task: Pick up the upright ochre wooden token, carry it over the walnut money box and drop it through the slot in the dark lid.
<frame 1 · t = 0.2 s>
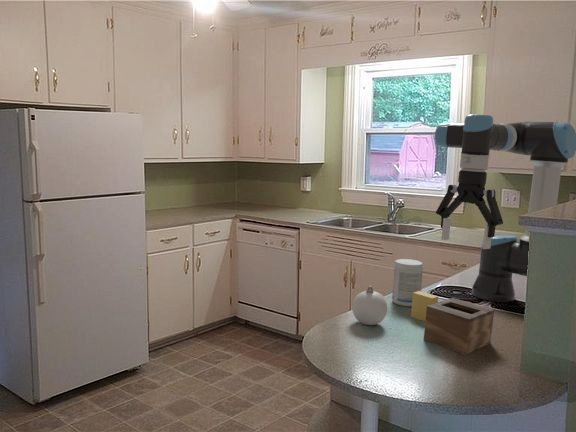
hand: (465, 244, 154), 27 cm above the countertop, fingers open, 13 cm apart
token: (423, 318, 171), on the countertop
coin box: (456, 341, 153), on the countertop
supplement tub: (405, 303, 186), on the countertop
ornament: (368, 324, 163), on the countertop
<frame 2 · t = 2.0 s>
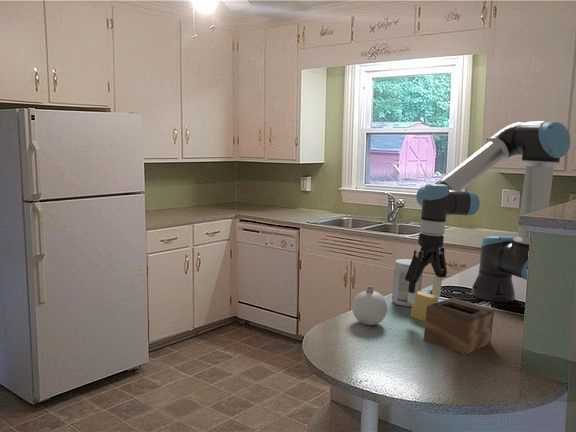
hand: (424, 299, 170), 6 cm above the countertop, fingers open, 13 cm apart
nothing on the countertop moved.
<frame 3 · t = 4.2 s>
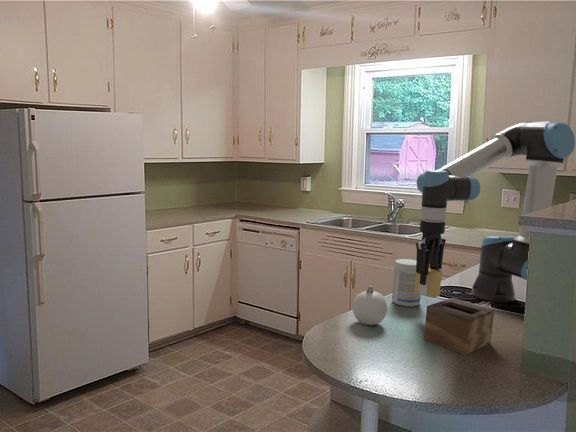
hand: (427, 292, 170), 8 cm above the countertop, fingers closed on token, 3 cm apart
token: (427, 294, 170), point 8 cm above the countertop, touching gripper
everything else where it was.
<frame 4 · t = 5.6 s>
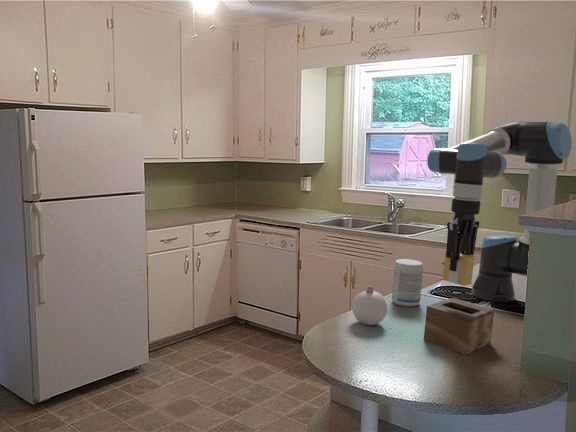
hand: (457, 280, 152), 17 cm above the countertop, fingers closed on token, 3 cm apart
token: (456, 281, 152), point 17 cm above the countertop, touching gripper
everything else where it was.
when the fingers open (11 cm above the countertop, at t = 7.0 s): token drops 10 cm, resting on coin box.
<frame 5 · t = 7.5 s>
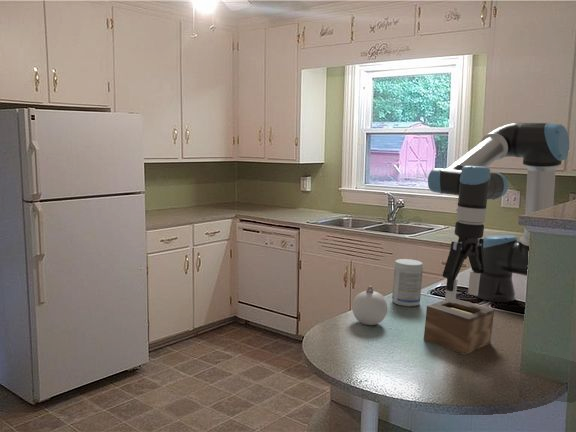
hand: (461, 298, 151), 13 cm above the countertop, fingers open, 12 cm apart
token: (457, 338, 153), point 1 cm above the countertop, touching coin box
everything else where it was.
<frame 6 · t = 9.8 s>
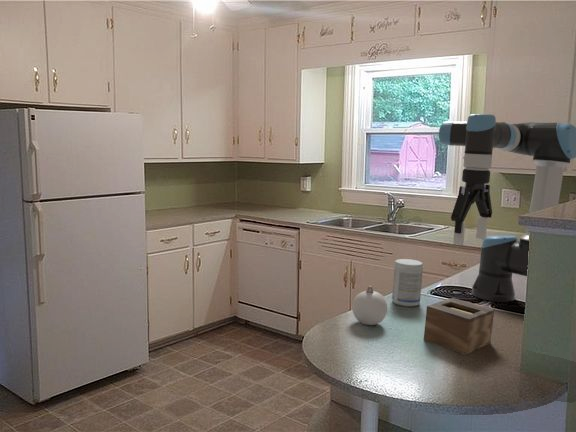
hand: (469, 241, 157), 28 cm above the countertop, fingers open, 13 cm apart
nothing on the countertop moved.
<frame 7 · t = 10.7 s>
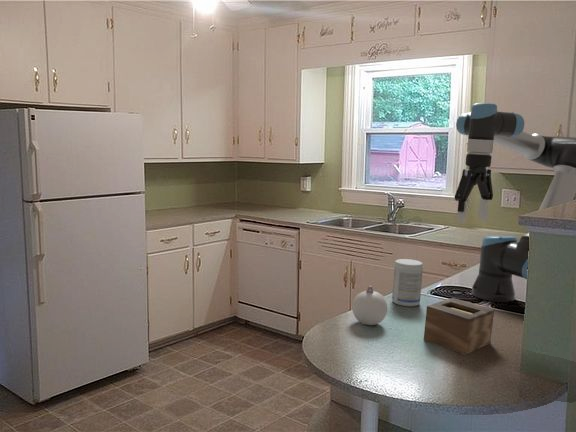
hand: (471, 220, 171), 32 cm above the countertop, fingers open, 13 cm apart
nothing on the countertop moved.
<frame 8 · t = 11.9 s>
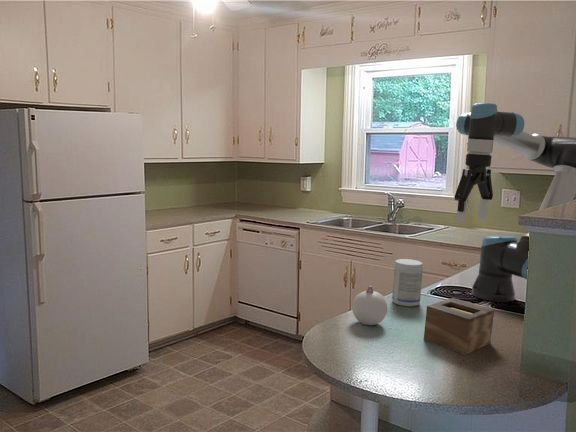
hand: (471, 220, 171), 32 cm above the countertop, fingers open, 13 cm apart
nothing on the countertop moved.
at the end: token inside the target area on the coin box (0.1 cm from its centre), point 0.8 cm above the coin box's base; the gripper is holding nothing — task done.
